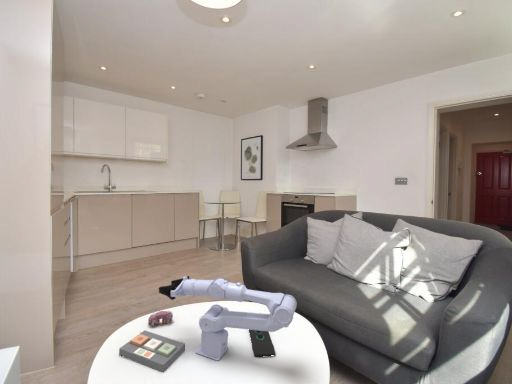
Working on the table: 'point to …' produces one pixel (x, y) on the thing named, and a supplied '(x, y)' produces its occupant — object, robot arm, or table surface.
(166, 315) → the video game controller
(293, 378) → the table surface
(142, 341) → the terracotta key
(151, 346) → the white key
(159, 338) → the keypad
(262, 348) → the smart home device
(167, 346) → the sage key
